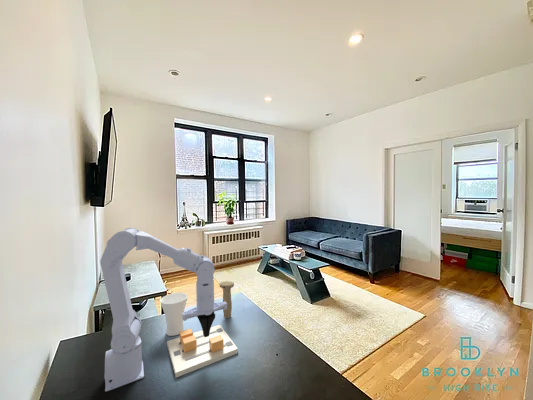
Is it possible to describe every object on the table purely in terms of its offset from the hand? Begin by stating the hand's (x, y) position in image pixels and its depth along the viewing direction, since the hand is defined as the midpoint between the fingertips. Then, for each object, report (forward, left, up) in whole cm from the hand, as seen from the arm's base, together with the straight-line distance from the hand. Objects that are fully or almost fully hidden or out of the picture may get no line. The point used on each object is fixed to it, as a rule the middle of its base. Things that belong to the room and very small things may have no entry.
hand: (206, 335), depth 76 cm
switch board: (0, +5, -7) cm, 9 cm away
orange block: (+3, 0, -5) cm, 6 cm away
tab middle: (-4, +5, -5) cm, 9 cm away
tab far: (-4, +10, -5) cm, 12 cm away
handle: (+16, +21, -7) cm, 27 cm away
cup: (-6, +22, -7) cm, 24 cm away
